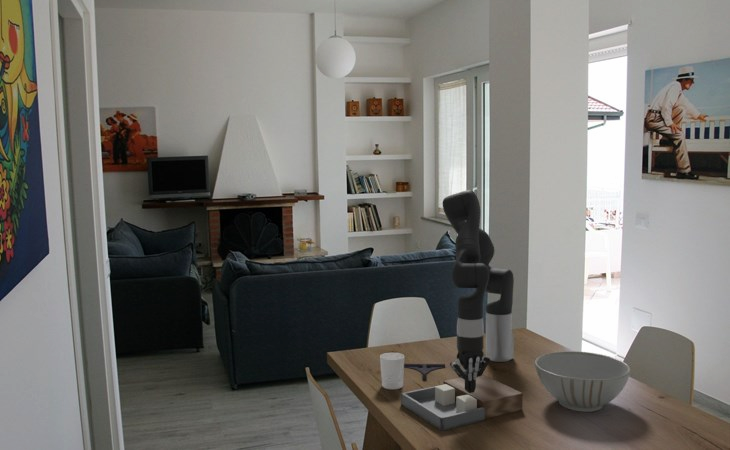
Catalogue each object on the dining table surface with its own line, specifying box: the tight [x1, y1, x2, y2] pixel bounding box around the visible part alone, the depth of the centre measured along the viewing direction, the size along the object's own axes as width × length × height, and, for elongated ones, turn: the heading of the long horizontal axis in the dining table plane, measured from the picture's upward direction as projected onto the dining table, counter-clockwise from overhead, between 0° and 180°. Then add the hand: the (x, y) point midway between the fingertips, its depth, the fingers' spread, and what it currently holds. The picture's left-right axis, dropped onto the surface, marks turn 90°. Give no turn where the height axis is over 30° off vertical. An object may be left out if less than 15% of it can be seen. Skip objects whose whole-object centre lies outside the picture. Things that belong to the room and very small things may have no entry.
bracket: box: [404, 363, 446, 381], centre depth 224 cm, size 14×15×3 cm
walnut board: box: [443, 374, 524, 419], centre depth 195 cm, size 14×20×5 cm
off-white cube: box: [456, 395, 477, 413], centre depth 186 cm, size 4×4×4 cm
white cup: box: [379, 352, 405, 390], centre depth 211 cm, size 8×8×10 cm
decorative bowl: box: [534, 350, 631, 413], centre depth 193 cm, size 27×27×12 cm
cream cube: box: [435, 383, 455, 406], centre depth 195 cm, size 4×4×4 cm
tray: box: [400, 385, 485, 431], centre depth 189 cm, size 14×22×4 cm, turn 27°
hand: (470, 391), depth 187 cm, fingers closed
